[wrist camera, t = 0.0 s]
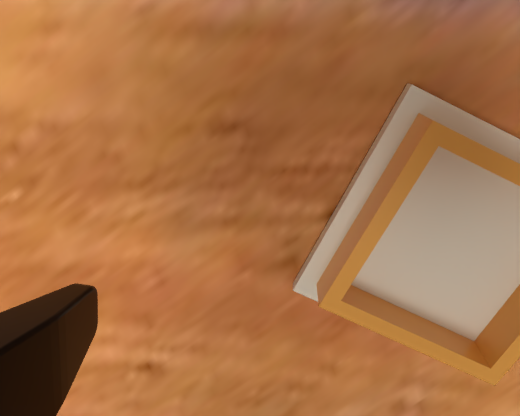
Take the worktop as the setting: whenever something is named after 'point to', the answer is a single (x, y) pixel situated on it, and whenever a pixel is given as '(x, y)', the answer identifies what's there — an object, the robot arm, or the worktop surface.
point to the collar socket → (429, 239)
